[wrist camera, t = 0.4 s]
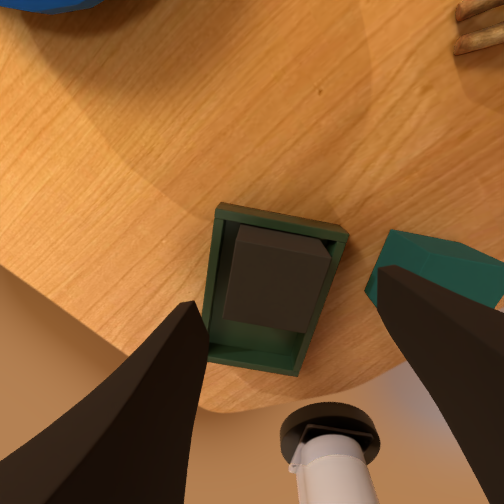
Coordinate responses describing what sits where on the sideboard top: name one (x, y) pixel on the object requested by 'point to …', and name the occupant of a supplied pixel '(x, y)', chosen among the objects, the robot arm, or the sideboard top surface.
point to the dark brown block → (275, 278)
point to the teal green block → (442, 266)
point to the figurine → (472, 5)
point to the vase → (49, 5)
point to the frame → (249, 335)
